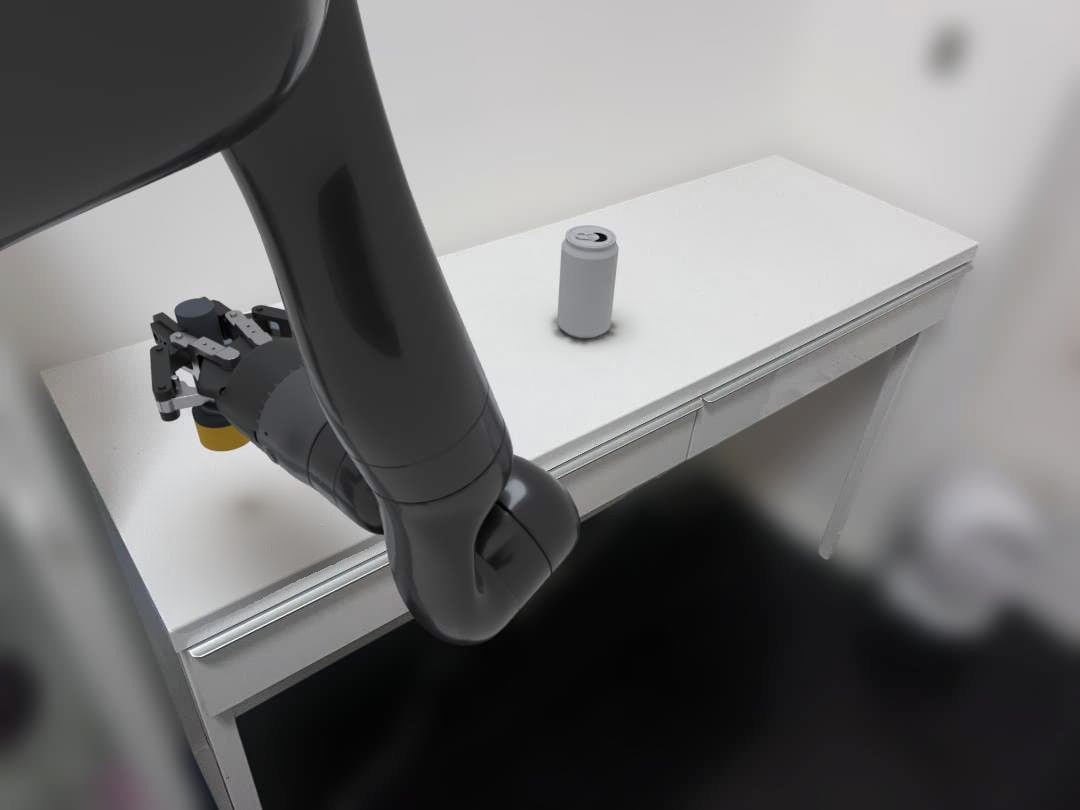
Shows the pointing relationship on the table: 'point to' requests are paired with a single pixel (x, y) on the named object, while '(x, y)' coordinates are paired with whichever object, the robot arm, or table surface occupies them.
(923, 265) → the table surface
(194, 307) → the sponge wand
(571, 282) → the beverage can
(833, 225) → the table surface
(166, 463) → the table surface
